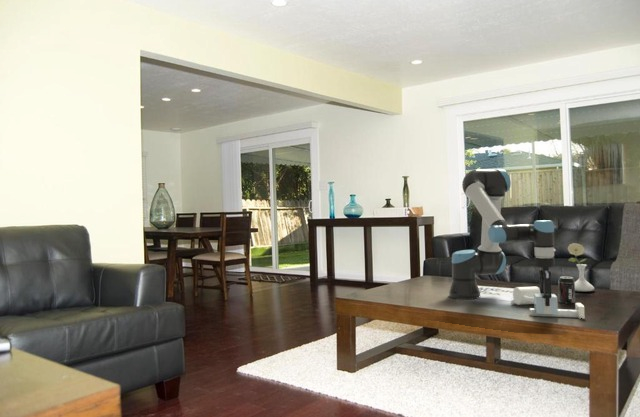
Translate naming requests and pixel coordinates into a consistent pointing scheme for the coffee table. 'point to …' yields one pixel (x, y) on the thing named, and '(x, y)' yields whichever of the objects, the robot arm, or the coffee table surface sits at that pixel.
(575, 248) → the flower in vase
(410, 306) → the coffee table surface
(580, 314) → the rail
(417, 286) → the coffee table surface
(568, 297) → the beverage can
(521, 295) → the mug
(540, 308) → the block
